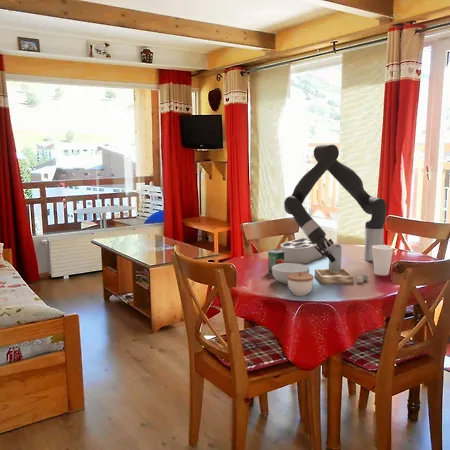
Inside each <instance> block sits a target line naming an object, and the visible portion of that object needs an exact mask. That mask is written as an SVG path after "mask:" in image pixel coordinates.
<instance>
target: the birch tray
mask: <svg viewBox="0 0 450 450" xmlns="http://www.w3.org/2000/svg"><path fill="white" fill-rule="evenodd" d="M314 277H315V278H316V279H317V280H318V282H319V283H320V284H321V285H341V284H342V285H343V284H345V285H346V284H354V276H353V274H351V273H350V272H349V271H348V270H347V269H345V268H343V267H341V271H339V272H333V271H329V268H317V269H315V268H314Z"/></svg>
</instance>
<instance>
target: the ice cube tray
mask: <svg viewBox="0 0 450 450" xmlns="http://www.w3.org/2000/svg"><path fill="white" fill-rule="evenodd" d="M316 245H317V244H313V243H312V242H311V241H310V240H309V238H308V237H300V238H297V239H293V240H290V241H286V242H283V243H280V249H281V250H284V263H294V264H302V265H304V264H307V263H310V262H312V261H313V262H314V261H316V260H318V259H321V258H323V257H325V256H322V255H321V254H320V253H319V252H318V251H317V250H316V248H315V246H316ZM321 252H322V251H321Z"/></svg>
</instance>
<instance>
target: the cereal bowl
mask: <svg viewBox="0 0 450 450" xmlns="http://www.w3.org/2000/svg"><path fill="white" fill-rule="evenodd" d="M297 272H302V273H309V274H310V267H309V266H308V265H305V264H294V263H285V262H284V263H283V264H277V265H274V266H273V267H272V274H273V275H272V274H271V275H272V276H273V277H274V279H276V280H277V281H278V282H280V283H281V284H284V285H288V278H287V275H288V274H290V273H297Z"/></svg>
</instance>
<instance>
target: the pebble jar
mask: <svg viewBox="0 0 450 450" xmlns="http://www.w3.org/2000/svg"><path fill="white" fill-rule="evenodd" d="M342 249H343V248H342V246H341V244H340V243H336V242H334V243H333V244H332V245H331V246H330V247H329V252H330V254H332V256H333V257H334V258H335V259H336V260H335V261H334V262H333V263H332V262H331V261H330V260H329V259H328V269H329V271H333V272H339V271H341V268H342V253H343V250H342Z"/></svg>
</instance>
